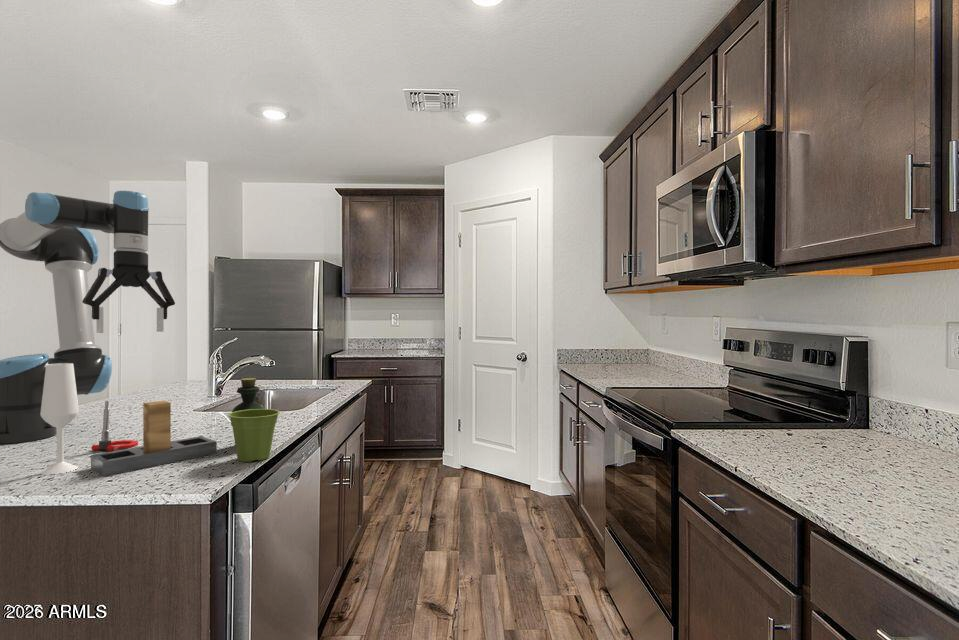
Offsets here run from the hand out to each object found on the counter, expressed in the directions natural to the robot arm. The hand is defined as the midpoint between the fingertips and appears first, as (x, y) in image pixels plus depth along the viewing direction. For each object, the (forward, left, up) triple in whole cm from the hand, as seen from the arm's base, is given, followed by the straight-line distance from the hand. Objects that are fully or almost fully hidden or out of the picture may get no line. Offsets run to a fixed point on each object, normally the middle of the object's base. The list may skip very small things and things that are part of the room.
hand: (131, 332), depth 134 cm
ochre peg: (+18, 0, -31) cm, 35 cm away
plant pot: (+34, +16, -31) cm, 48 cm away
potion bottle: (+21, +21, -31) cm, 43 cm away
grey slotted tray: (+18, 0, -31) cm, 35 cm away
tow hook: (-4, -2, -31) cm, 31 cm away
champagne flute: (+10, -17, -31) cm, 36 cm away
